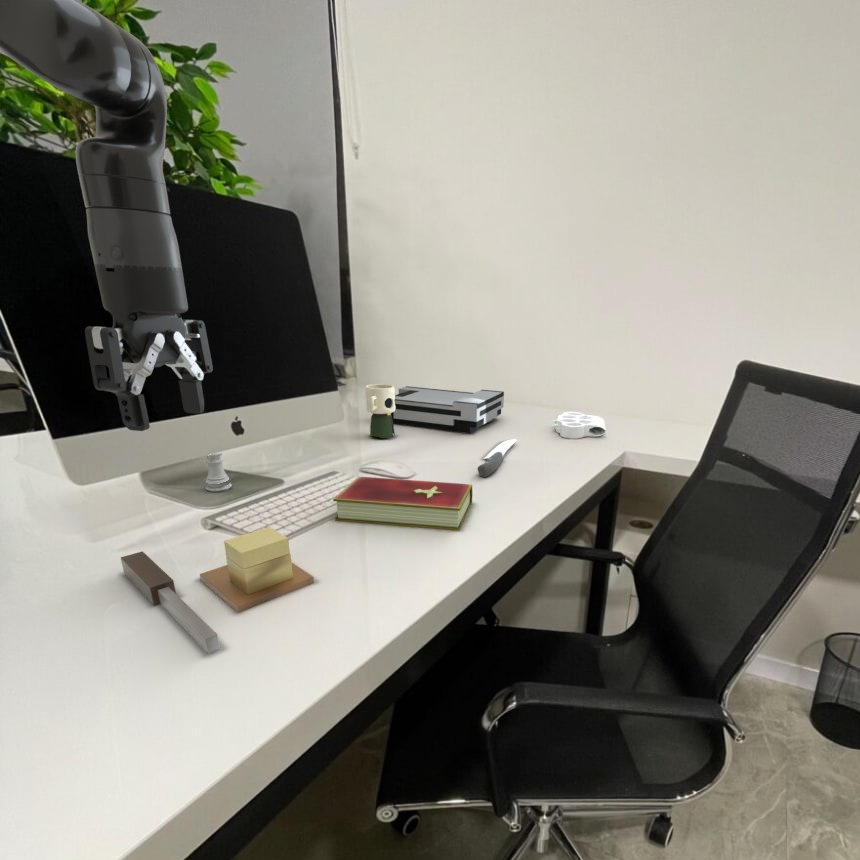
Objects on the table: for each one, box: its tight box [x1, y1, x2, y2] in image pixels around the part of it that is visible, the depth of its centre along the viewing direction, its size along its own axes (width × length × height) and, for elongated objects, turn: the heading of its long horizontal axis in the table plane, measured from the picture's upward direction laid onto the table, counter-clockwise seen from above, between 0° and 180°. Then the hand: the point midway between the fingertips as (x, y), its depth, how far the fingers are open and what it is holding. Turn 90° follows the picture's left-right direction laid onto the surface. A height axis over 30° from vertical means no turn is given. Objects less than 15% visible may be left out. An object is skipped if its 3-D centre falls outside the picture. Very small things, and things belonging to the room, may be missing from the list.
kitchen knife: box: [477, 439, 518, 478], centre depth 127 cm, size 29×3×5 cm
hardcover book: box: [332, 476, 473, 532], centre depth 95 cm, size 12×21×4 cm, turn 83°
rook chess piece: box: [205, 451, 233, 493], centre depth 102 cm, size 4×4×8 cm
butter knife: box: [120, 550, 221, 655], centre depth 66 cm, size 3×25×3 cm, turn 48°
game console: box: [391, 385, 505, 434], centre depth 158 cm, size 21×32×8 cm, turn 70°
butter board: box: [199, 553, 315, 613], centre depth 71 cm, size 10×11×4 cm
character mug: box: [365, 383, 396, 439], centre depth 139 cm, size 11×7×13 cm, turn 167°
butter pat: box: [223, 526, 291, 569], centre depth 69 cm, size 6×5×2 cm
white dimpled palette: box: [551, 411, 607, 440], centre depth 153 cm, size 3×18×15 cm
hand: (168, 420), depth 61 cm, fingers open, 8 cm apart
